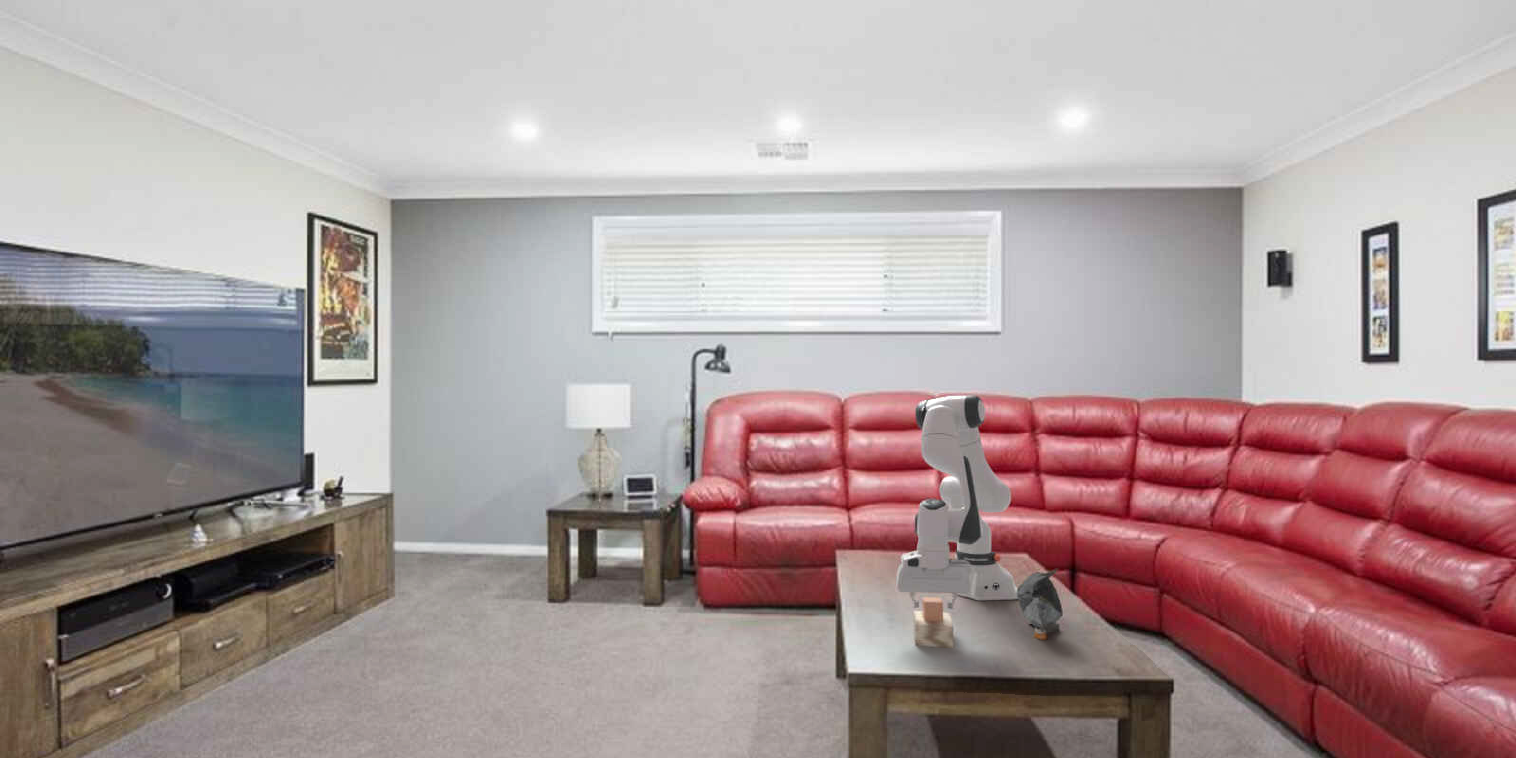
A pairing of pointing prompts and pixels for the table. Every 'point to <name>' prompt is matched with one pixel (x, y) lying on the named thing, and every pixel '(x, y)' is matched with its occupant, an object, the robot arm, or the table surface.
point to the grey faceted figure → (1040, 603)
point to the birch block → (933, 631)
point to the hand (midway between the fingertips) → (933, 607)
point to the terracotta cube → (932, 609)
